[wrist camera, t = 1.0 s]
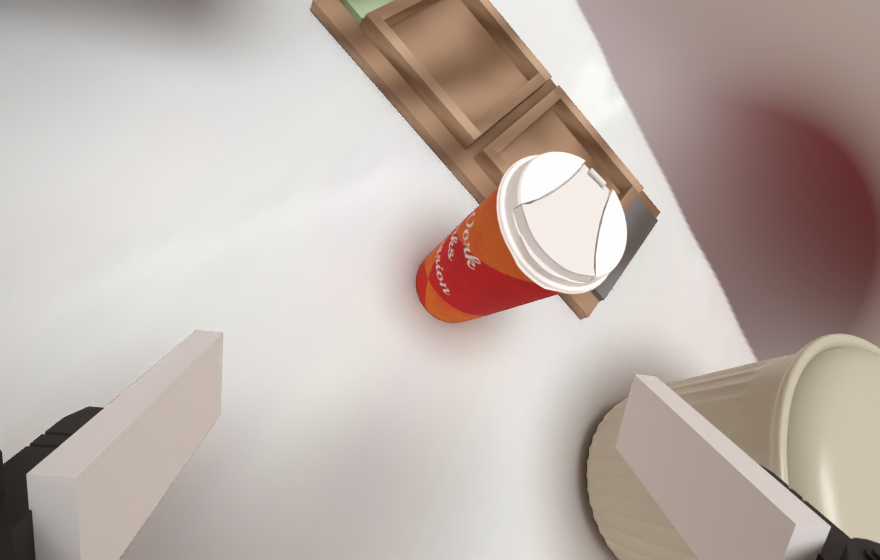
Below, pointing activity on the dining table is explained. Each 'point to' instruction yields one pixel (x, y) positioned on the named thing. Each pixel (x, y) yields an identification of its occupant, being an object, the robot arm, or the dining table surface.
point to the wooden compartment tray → (480, 100)
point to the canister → (763, 443)
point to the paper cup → (527, 241)
